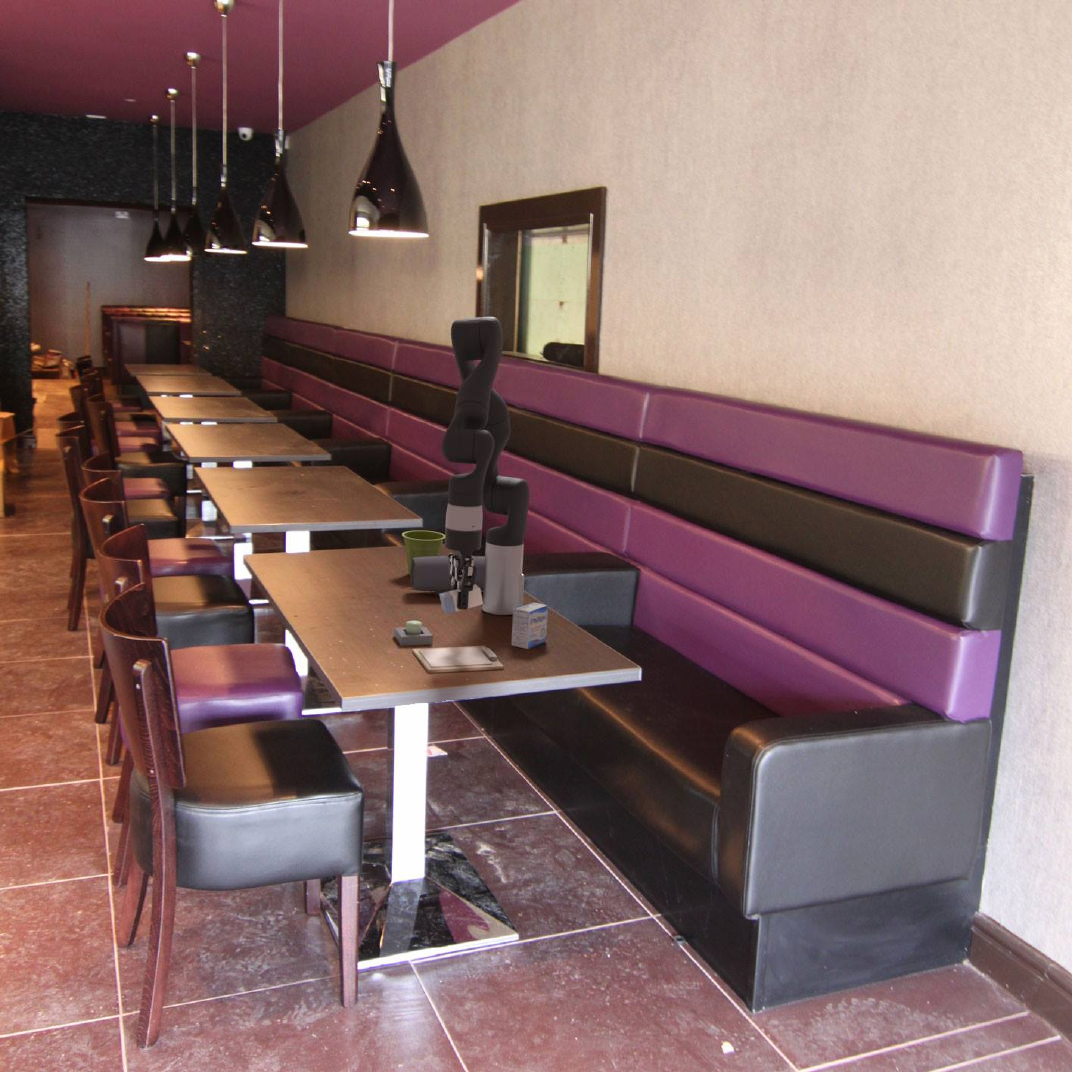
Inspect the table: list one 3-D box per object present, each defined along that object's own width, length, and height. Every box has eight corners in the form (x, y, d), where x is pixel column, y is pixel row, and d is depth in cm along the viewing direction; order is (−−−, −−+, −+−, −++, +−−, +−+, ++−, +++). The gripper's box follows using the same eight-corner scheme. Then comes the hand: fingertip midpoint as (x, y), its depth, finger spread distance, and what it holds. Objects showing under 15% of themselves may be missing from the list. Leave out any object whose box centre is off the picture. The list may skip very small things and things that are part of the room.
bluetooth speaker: (493, 588, 297) (495, 551, 295) (502, 597, 288) (504, 560, 286) (408, 589, 290) (410, 551, 288) (414, 598, 282) (416, 560, 280)
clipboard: (484, 648, 245) (484, 642, 245) (503, 669, 232) (503, 662, 232) (412, 651, 239) (412, 645, 239) (428, 672, 227) (428, 666, 226)
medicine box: (527, 650, 246) (530, 612, 244) (510, 645, 248) (512, 608, 246) (546, 642, 253) (548, 605, 251) (529, 638, 255) (531, 601, 253)
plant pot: (394, 577, 302) (395, 536, 299) (408, 568, 313) (410, 528, 311) (436, 582, 299) (438, 541, 297) (449, 572, 311) (450, 533, 308)
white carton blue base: (478, 599, 236) (475, 584, 235) (483, 604, 233) (480, 588, 232) (442, 609, 234) (439, 593, 233) (446, 614, 231) (443, 598, 230)
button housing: (424, 635, 252) (425, 626, 251) (432, 644, 245) (432, 635, 245) (394, 636, 250) (394, 627, 249) (401, 645, 243) (401, 636, 243)
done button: (419, 631, 249) (419, 620, 249) (422, 636, 246) (423, 624, 246) (404, 632, 248) (404, 621, 248) (407, 636, 245) (408, 625, 245)
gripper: (491, 532, 225) (486, 615, 228) (471, 518, 238) (467, 597, 241) (455, 532, 222) (450, 616, 226) (437, 518, 235) (433, 598, 239)
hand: (459, 606), depth 233 cm, fingers closed on white carton blue base, 3 cm apart
